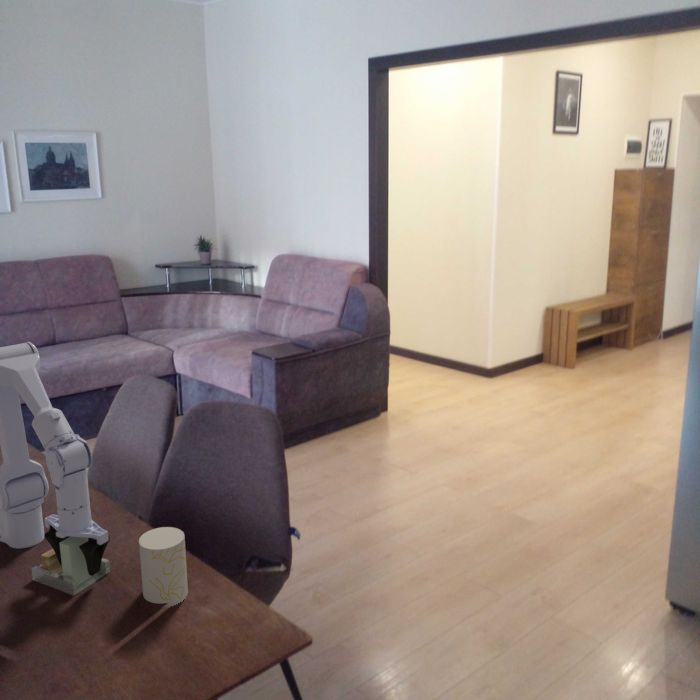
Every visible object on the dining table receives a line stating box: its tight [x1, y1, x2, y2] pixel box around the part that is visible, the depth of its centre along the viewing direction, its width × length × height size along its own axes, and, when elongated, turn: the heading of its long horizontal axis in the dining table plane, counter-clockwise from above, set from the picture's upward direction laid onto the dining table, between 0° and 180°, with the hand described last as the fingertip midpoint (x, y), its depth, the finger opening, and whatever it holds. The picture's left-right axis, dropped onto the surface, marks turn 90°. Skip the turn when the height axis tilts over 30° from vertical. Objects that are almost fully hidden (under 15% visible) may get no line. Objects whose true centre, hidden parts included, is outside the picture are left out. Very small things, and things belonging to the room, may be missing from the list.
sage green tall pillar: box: [60, 536, 97, 586], centre depth 135 cm, size 2×6×9 cm, turn 153°
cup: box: [138, 526, 189, 609], centre depth 131 cm, size 8×8×12 cm
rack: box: [30, 557, 111, 596], centre depth 137 cm, size 11×9×4 cm
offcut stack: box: [38, 548, 63, 574], centre depth 138 cm, size 2×6×4 cm, turn 153°
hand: (80, 567), depth 135 cm, fingers open, 7 cm apart
